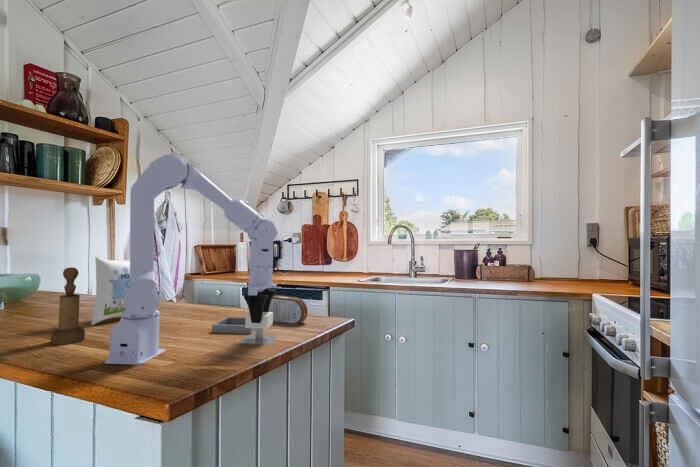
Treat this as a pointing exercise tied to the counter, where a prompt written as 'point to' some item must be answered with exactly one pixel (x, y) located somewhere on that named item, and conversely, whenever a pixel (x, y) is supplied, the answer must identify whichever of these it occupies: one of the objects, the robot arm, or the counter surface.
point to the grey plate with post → (259, 338)
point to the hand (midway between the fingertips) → (259, 320)
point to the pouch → (110, 288)
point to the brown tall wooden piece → (68, 313)
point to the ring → (265, 321)
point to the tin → (288, 309)
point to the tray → (232, 326)
